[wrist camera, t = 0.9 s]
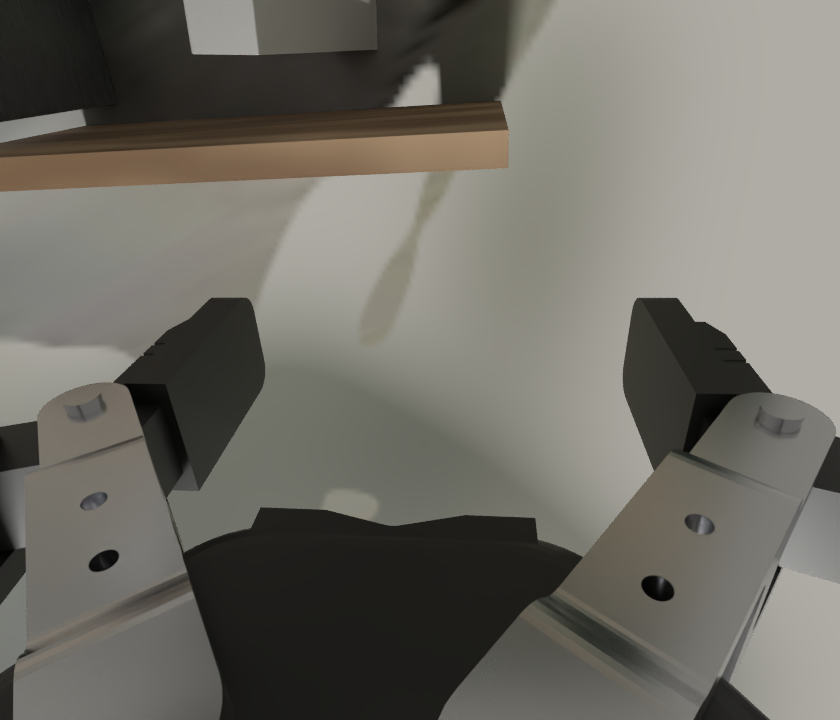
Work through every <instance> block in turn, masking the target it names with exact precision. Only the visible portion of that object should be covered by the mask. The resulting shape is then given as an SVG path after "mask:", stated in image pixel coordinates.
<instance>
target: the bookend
mask: <svg viewBox="0 0 840 720" xmlns="http://www.w3.org/2000/svg"><path fill="white" fill-rule="evenodd" d="M111 104H117V99H116V96H115V92H114V89H113V85H112V82H111V78H110V75H109V72H108V68H107V65H106V61H105V58H104V54H103V51H102V47H101V44H100V40H99V37H98V33H97V30H96V27H95V23H94V20H93V16H92V13H91V9H90V6H89V2H88V0H0V122H4V121H10V120H16V119H23V118H29V117H35V116H42V115H48V114H54V113H60V112H67V111H73V110H79V109H86V108H92V107H98V106H104V105H111Z"/></svg>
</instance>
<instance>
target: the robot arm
mask: <svg viewBox="0 0 840 720" xmlns="http://www.w3.org/2000/svg"><path fill="white" fill-rule="evenodd" d="M264 378H265V362H264V357H263V352H262V347H261V343H260V338H259V333H258V328H257V323H256V318H255V313H254V309H253V306H252V304H251V302H250V300H249V299H247V298H211V299H209V300H208V301H207V302H206V303H205V304H204V305H203V306H202V307H201V308H200V309H199V310H198V311H197V312H196V313H195V314H194V315H193V316H192V317H191V318H190V319H189V320H186V321H185V322H183V323H181V324H179V325H177V326H175V327H173V328H171V329H169V330H168V331H167V332H165V333H164V334H163V335H162V336H161V337H160V338H159V339H158V340H157V341H156V342H155V345H152V346H151V347H150V348H149V349H148V350H147V351H146V352H144V356H140V357H139V358H138V359H137V360H136V361H135V362H134V363H133V364H132V365H131V366H130V367H129V368H128V369H127V370H126V371H125V372H124V373H122V375H120V376H119V377H118V378H117V379H116V380H115V381H114V382H113V383H95V384H89V385H85V386H81V387H78V388H75V389H72V390H69V391H67V392H65V393H63V394H61V395H59V396H57V397H55V398H54V399H52V400H51V401H49V402H48V403H47V404H46V405H45V406H43V408H42V409H41V410H40V411H39V414H38V417H37V421H34V422H28V423H22V424H16V425H10V426H4V427H0V604H1V603H2V602H3V601H4V599H5V598H6V597H7V595H8V594H9V593H10V591H11V590H12V589H13V587H14V586H15V585H16V584H17V583H18V581H19V580H20V579H21V577H22V576H23V575H24V573H25V572H26V613H27V614H26V615H27V616H26V618H27V645H26V649H25V651H24V653H23V654H21V655H20V656H19V657H18V659H17V661H16V664H14V665H13V666H11V667H10V668H8V669H6V670H5V671H4V672H2V673H1V674H0V720H770V719H768V718H767V717H766V716H765V715H764V714H763V713H762V712H761V711H760V710H759V709H758V708H756V707H755V706H754V705H753V704H752V703H751V702H750V701H749V700H748V699H747V698H746V697H744V696H743V695H742V694H741V693H740V692H739V691H738V690H737V689H736V688H735V687H733V686H732V685H731V683H732V681H733V679H734V677H735V674H736V671H737V669H738V667H739V664H740V662H741V660H742V657H743V655H744V653H745V651H746V648H747V646H748V644H749V642H750V639H751V637H752V635H753V633H754V631H755V629H756V626H757V624H758V622H759V620H760V618H761V615H762V613H763V611H764V609H765V607H766V604H767V602H768V600H769V598H770V595H771V594H772V591H773V589H774V587H775V585H776V583H777V580H778V578H779V576H780V574H781V571H782V569H783V568H786V569H790V570H793V571H797V572H801V573H805V574H808V575H811V576H815V577H818V578H822V579H826V580H829V581H833V582H836V583H840V438H839V437H836V436H835V434H836V428H835V426H834V424H833V422H832V421H831V420H830V419H829V417H827V416H826V415H825V414H824V413H823V412H821V411H820V410H818V409H817V408H815V407H813V406H811V405H810V404H807V403H805V402H803V401H800V400H797V399H795V398H791V397H788V396H784V395H779V394H774V393H772V392H771V391H770V389H769V388H768V387H767V386H766V384H765V383H764V382H763V381H762V379H761V378H760V377H759V376H758V374H757V373H756V372H755V371H754V370H753V368H752V367H751V366H750V364H749V363H746V359H745V358H744V357H743V356H742V354H741V353H740V352H739V351H737V348H736V347H735V346H734V344H733V343H732V342H731V341H730V339H729V338H728V337H727V335H726V334H724V333H722V332H721V331H719V330H718V329H716V328H714V327H712V326H711V325H709V324H707V323H706V322H695V321H694V320H693V319H692V317H691V316H690V314H689V313H688V312H687V310H686V309H685V308H684V306H683V305H682V303H681V302H680V301H679V300H678V299H677V298H637V299H636V301H635V303H634V305H633V310H632V315H631V322H630V328H629V335H628V341H627V347H626V354H625V360H624V367H623V388H624V393H625V397H626V400H627V402H628V405H629V407H630V410H631V413H632V415H633V418H634V421H635V423H636V426H637V428H638V431H639V433H640V436H641V438H642V441H643V444H644V446H645V449H646V451H647V454H648V456H649V459H650V462H651V464H652V467H653V469H654V472H653V473H652V475H651V476H650V477H649V478H648V479H647V481H646V482H645V483H644V485H642V487H641V488H640V489H639V490H638V492H637V493H636V494H635V495H634V497H633V498H632V499H631V500H630V501H629V502H628V504H627V505H626V506H625V507H624V508H623V510H622V511H621V512H620V514H619V515H618V516H617V517H616V518H615V520H614V521H613V522H612V523H611V524H610V525H609V527H608V528H607V529H606V530H605V532H604V533H603V534H602V535H601V536H600V538H599V539H598V540H597V541H596V542H595V544H594V545H593V546H592V547H591V549H590V550H589V551H588V552H587V553H586V555H585V556H584V557H582V556H580V555H578V554H576V553H574V552H571V551H569V550H567V549H565V548H562V547H559V546H557V545H554V544H551V543H548V542H544V541H540V540H538V539H537V531H536V521H535V518H521V517H496V516H495V517H494V516H470V515H464V516H458V517H451V518H445V519H438V520H432V521H426V522H419V523H413V524H406V525H400V526H388V525H383V524H379V523H375V522H371V521H367V520H363V519H359V518H355V517H351V516H347V515H344V514H340V513H336V512H332V511H328V510H314V509H313V510H312V509H288V508H287V509H286V508H260V510H259V512H258V514H257V517H256V519H255V521H254V523H253V525H252V527H251V528H250V529H244V530H240V531H236V532H232V533H228V534H225V535H222V536H220V537H217V538H214V539H211V540H209V541H206V542H204V543H202V544H200V545H197V546H195V547H193V548H192V549H190V550H188V551H186V552H185V550H184V547H183V544H182V541H181V538H180V535H179V532H178V529H177V526H176V523H175V520H174V517H173V514H172V511H171V508H170V506H169V502H168V500H167V497H168V495H169V493H170V492H171V491H172V490H184V491H199V490H200V488H201V487H202V485H203V484H204V482H205V480H206V479H207V477H208V476H209V474H210V472H211V471H212V469H213V467H214V466H215V464H216V463H217V461H218V459H219V458H220V456H221V454H222V453H223V451H224V450H225V448H226V446H227V444H228V443H229V441H230V440H231V438H232V437H233V435H234V433H235V432H236V430H237V428H238V427H239V425H240V424H241V422H242V420H243V419H244V417H245V415H246V414H247V412H248V411H249V409H250V407H251V406H252V404H253V402H254V401H255V399H256V398H257V396H258V394H259V393H260V391H261V389H262V387H263V383H264Z"/></svg>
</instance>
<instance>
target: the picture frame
mask: <svg viewBox="0 0 840 720" xmlns="http://www.w3.org/2000/svg"><path fill="white" fill-rule="evenodd" d="M183 3H184V10H185V16H186V22H187V28H188V34H189V40H190V46H191V52H192V54H214V55H269V54H291V53H314V52H337V51H360V50H377V49H378V46H377V5H376V0H183Z"/></svg>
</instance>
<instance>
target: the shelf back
mask: <svg viewBox="0 0 840 720" xmlns="http://www.w3.org/2000/svg"><path fill="white" fill-rule="evenodd" d="M508 132H509V130H508V127H507V122H506V119H505V115H504V111H503V108H502V104H501V101H490V102H474V103H457V104H441V105H425V106H408V107H391V108H374V109H357V110H341V111H324V112H307V113H291V114H274V115H258V116H241V117H224V118H208V119H191V120H174V121H158V122H141V123H125V124H108V125H91V126H83V127H78V128H73V129H68V130H63V131H58V132H53V133H48V134H43V135H38V136H33V137H28V138H23V139H18V140H13V141H9V142H4V143H0V192H1V191H22V190H44V189H65V188H87V187H108V186H130V185H152V184H173V183H195V182H216V181H238V180H260V179H281V178H303V177H324V176H346V175H368V174H388V173H411V172H432V171H454V170H475V169H496V168H508V136H509V133H508Z"/></svg>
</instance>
